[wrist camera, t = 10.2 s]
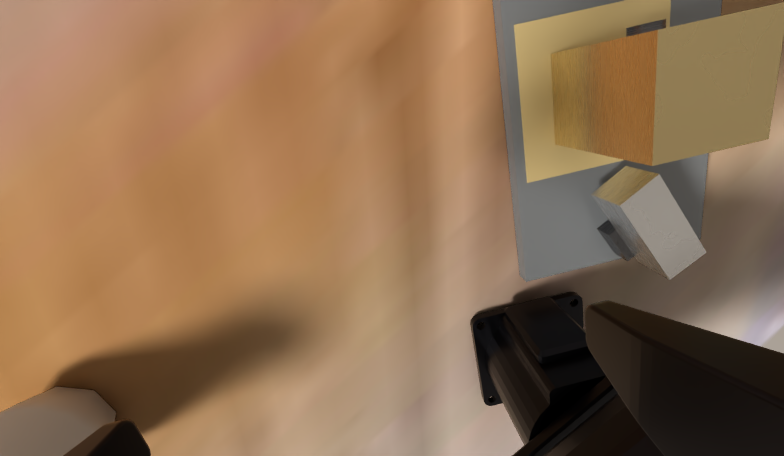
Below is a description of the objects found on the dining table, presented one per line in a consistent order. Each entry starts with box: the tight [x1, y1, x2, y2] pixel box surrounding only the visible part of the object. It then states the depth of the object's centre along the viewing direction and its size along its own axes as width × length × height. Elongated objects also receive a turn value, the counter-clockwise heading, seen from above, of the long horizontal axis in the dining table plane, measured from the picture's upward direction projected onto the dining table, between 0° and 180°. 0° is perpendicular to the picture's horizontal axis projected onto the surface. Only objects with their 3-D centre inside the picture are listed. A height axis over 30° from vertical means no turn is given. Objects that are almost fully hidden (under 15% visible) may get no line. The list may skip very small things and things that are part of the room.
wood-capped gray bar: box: [591, 166, 707, 280], centre depth 16 cm, size 18×4×3 cm, turn 12°
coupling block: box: [551, 2, 784, 166], centre depth 14 cm, size 5×4×6 cm
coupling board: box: [493, 0, 722, 282], centre depth 17 cm, size 18×10×1 cm, turn 12°
